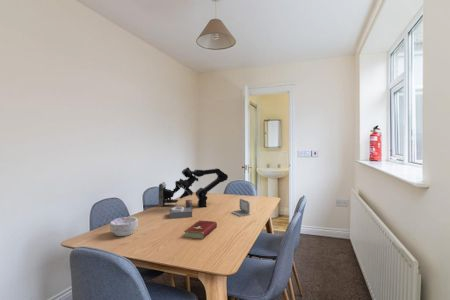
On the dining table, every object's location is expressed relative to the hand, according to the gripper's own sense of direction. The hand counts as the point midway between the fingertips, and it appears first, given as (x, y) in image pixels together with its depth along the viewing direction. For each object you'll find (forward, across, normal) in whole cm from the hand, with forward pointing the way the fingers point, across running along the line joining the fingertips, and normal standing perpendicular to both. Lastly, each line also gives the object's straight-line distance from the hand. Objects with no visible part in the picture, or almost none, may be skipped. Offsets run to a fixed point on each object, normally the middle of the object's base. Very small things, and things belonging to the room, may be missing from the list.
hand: (176, 195), depth 199 cm
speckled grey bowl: (+41, +22, -33) cm, 57 cm away
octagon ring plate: (+10, +17, 0) cm, 20 cm away
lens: (+2, +11, +10) cm, 15 cm away
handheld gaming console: (-20, +47, +15) cm, 53 cm away
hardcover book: (+12, +54, -18) cm, 58 cm away
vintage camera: (+8, -15, +16) cm, 23 cm away
